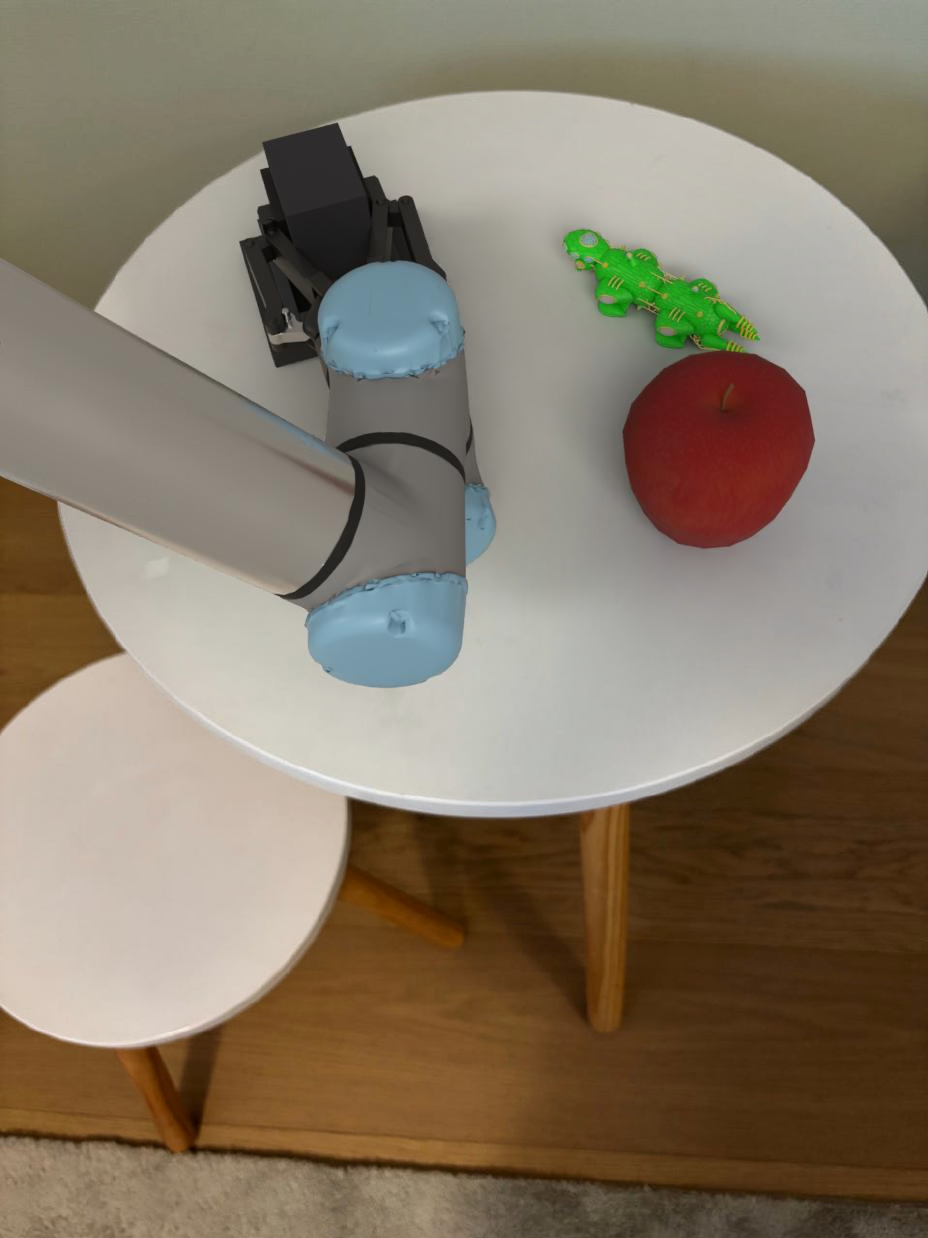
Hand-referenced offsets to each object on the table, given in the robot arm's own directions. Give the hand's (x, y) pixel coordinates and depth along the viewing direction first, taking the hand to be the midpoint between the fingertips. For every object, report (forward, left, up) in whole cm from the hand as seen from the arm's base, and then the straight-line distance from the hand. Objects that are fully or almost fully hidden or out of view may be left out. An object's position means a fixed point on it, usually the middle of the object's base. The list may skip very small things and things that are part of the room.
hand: (308, 172), depth 83 cm
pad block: (+3, -4, -6) cm, 8 cm away
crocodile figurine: (+29, -3, -8) cm, 30 cm away
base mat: (+3, -4, -7) cm, 9 cm away
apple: (+35, -22, -8) cm, 42 cm away
